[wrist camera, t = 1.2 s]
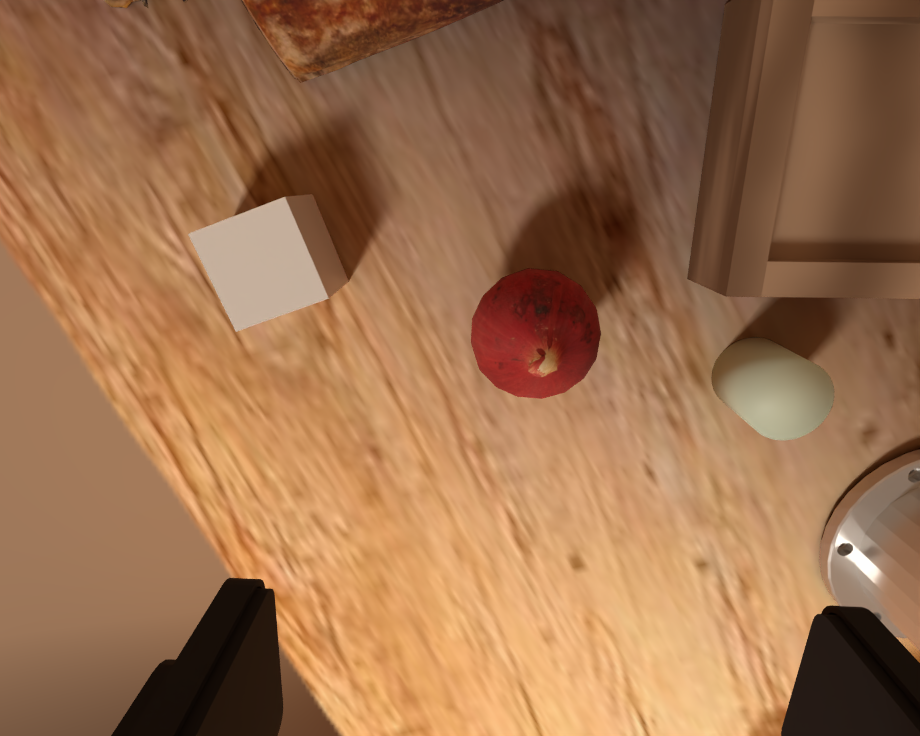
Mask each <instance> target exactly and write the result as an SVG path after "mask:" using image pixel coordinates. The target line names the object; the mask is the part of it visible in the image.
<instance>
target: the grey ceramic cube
mask: <svg viewBox="0 0 920 736" xmlns="http://www.w3.org/2000/svg"><path fill="white" fill-rule="evenodd" d="M188 235H189V237H190V239H191V241H192V243H193V245H194V247H195V249H196V251H197V253H198V255H199V257H200V259H201V261H202V263H203V266H204V268H205V270H206V272H207V274H208V276H209V278H210V280H211V282H212V284H213V286H214V288H215V290H216V292H217V294H218V296H219V298H220V300H221V302H222V304H223V306H224V308H225V310H226V312H227V314H228V316H229V319H230V321H231V323H232V325H233V327H234V329H235V331H239V330H242V329H245V328H248V327H250V326H253V325H256V324H259V323H262V322H264V321H267V320H270V319H273V318H276V317H278V316H281V315H284V314H287V313H290V312H292V311H295V310H298V309H301V308H303V307H306V306H309V305H312V304H315V303H317V302H320V301H323V300H326V299H329V298H330V297H331V296H332V295H333V294H335V293H336V292H337V291H338V290H339V289H340V288H342V287H343V286H344V285H345V284H346V283H348V282H349V280H348V278H347V276H346V273H345V271H344V268H343V266H342V264H341V261H340V259H339V256H338V254H337V252H336V249H335V247H334V244H333V242H332V240H331V237H330V235H329V232H328V230H327V228H326V225H325V223H324V220H323V218H322V216H321V213H320V211H319V208H318V206H317V204H316V201H315V199H314V196H313V194H309V195H298V196H287V197H283V198H280V199H277V200H275V201H272V202H270V203H267V204H264V205H262V206H259V207H257V208H254V209H251V210H249V211H246V212H244V213H241V214H238V215H236V216H233V217H231V218H228V219H225V220H223V221H220V222H218V223H215V224H212V225H210V226H207V227H205V228H202V229H199V230H197V231H194V232H192V233H189V234H188Z"/></svg>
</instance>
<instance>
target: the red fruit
mask: <svg viewBox="0 0 920 736" xmlns="http://www.w3.org/2000/svg"><path fill="white" fill-rule="evenodd" d="M600 336H601V331H600V325H599V320H598V314H597V310H596V307H595V306H594V304H593V303H592V301H591V300H590V298H589V297H588V295H587V294H586V292H585V291H584V289H583V288H582V287H581V286H580V285H579V284H577V283H576V282H574V281H572V280H571V279H569V278H568V277H566V276H564V275H563V274H561V273H560V272H558V271H549V270H540V269H530V268H528V269H525V270H522V271H519V272H516V273H514V274H511V275H508V276H505V277H503V278H501V279H500V280H499V281H498V282H497V283H496V284H495V285H494V286H493V287H492V288H491V289H490V290H489V291H488V292H487V293H485V294H484V295H483V297H482V299H481V301H480V303H479V305H478V307H477V310H476V312H475V314H474V316H473V318H472V333H471V344H472V347H473V351H474V354H475V357H476V360H477V364H478V367H479V369H480V371H481V372H482V373H483V374H484V375H485V376H486V377H487V378H488V379H489V380H490V381H491V382H492V383H493V384H494V385H495V386H496V387H497V388H499V389H502V390H504V391H506V392H508V393H511V394H513V395H515V396H517V397H529V398H541V399H543V398H546V397H550V396H553V395H557V394H560V393H564V392H566V391H567V390H568V389H570V388H571V387H573V386H574V385H575V384H577V383H578V382H580V381H581V380H582V379H584V377H585V376H586V374H587V373H588V371H589V369H590V368H591V366H592V365H593V363H594V362H595V360H596V357H597V352H598V347H599V341H600Z"/></svg>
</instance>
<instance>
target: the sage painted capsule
mask: <svg viewBox="0 0 920 736" xmlns="http://www.w3.org/2000/svg"><path fill="white" fill-rule="evenodd" d="M712 386H713V389H714V391H715V393H716V395H717V396H718V397H719V399H721V400H722V401H723V402H724V403H725V404H726V405H727V406H728V407H730V408H731V409H732V410H733V411H734V412H735V413H736V414H738V415H739V416H740V417H741V418H742V419H743V420H744V421H746V422H747V423H748V424H749V425H750V426H751V427H753V428H754V429H755V430H756V431H757V432H758V433H760V434H761V435H763V436H765V437H767V438H770V439H774V440H791V439H796V438H799V437H802V436H804V435H806V434H808V433H810V432H811V431H813V430H814V429H816V428H817V427H818V426H819V425H820V424H821V423H822V422H823V421H824V420H825V418H826V417H827V415H828V414H829V412H830V410H831V408H832V405H833V401H834V386H833V383H832V380H831V378H830V376H829V375H828V373H827V372H826V371H825V370H824V369H822V368H821V367H820V366H818V365H816V364H814V363H812V362H811V361H809V360H807V359H805V358H803V357H801V356H799V355H797V354H796V353H794V352H792V351H790V350H788V349H786V348H784V347H782V346H780V345H779V344H777V343H775V342H773V341H771V340H769V339H766V338H760V337H751V338H745V339H742V340H739V341H737V342H735V343H733V344H732V345H730V346H729V347H727V348H726V349H725V350H724V351H723V352H722V353H721V354H720V356H719V357H718V359H717V360H716V362H715V364H714V367H713V370H712Z"/></svg>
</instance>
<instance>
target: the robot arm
mask: <svg viewBox="0 0 920 736" xmlns="http://www.w3.org/2000/svg"><path fill="white" fill-rule="evenodd" d="M819 563H820V569H821V575H822V579H823V581H824V583H825V586H826V588H827V590H828V592H829V593H830V595H831V596H832V597H833V599H834V600H835V601H836V602H837V604H838V605H839V606H827V607H826V608H824V609H823V611H822V613H821V614H817V615H816V616H815V617H814V619H813V622H812V625H811V629H810V632H809V636H808V639H807V643H806V646H805V650H804V653H803V657H802V660H801V664H800V667H799V671H798V674H797V678H796V681H795V685H794V688H793V691H792V695H791V698H790V702H789V705H788V709H787V712H786V716H785V719H784V723H783V726H782V732H781V736H920V663H919V662H918V661H917V660H916V659H915V658H914V657H913V656H912V654H911V653H910V652H909V651H908V650H907V649H906V648H905V647H904V646H903V645H902V644H901V643H900V642H899V640H898V639H897V638H896V637H900V638H908V639H909V640H910V641H911V642H912V643H913V644H914V646H915V647H916V648H917V649H918V650H919V651H920V449H919V450H916V451H912V452H909V453H906V454H904V455H902V456H900V457H897V458H895V459H893V460H891V461H889V462H887V463H885V464H883V465H882V466H880V467H879V468H877V469H876V470H874V471H873V472H871V473H870V474H868V475H867V476H866V477H864V478H863V479H862V480H861V481H860V482H859V483H858V484H857V485H856V486H855V487H853V488H852V489H851V490H850V491H849V492H848V493H847V495H846V496H845V497H844V498H843V500H842V501H841V502H840V503H839V505H838V506H837V507H836V509H835V510H834V512H833V514H832V516H831V518H830V520H829V522H828V523H827V525H826V528H825V531H824V534H823V538H822V541H821V545H820V558H819ZM282 714H283V697H282V685H281V673H280V659H279V646H278V633H277V620H276V608H275V595H274V591H273V589H265V585H264V582H263V580H261V579H241V578H229V579H227V580H226V581H225V582H224V584H223V585H222V587H221V588H220V590H219V591H218V593H217V595H216V596H215V598H214V600H213V601H212V603H211V604H210V606H209V608H208V609H207V611H206V613H205V614H204V616H203V617H202V619H201V621H200V622H199V624H198V625H197V627H196V629H195V630H194V632H193V634H192V635H191V637H190V638H189V640H188V642H187V643H186V645H185V646H184V648H183V650H182V651H181V653H180V654H179V656H178V658H177V659H176V660H165V661H163V662H162V663H160V664H159V665H158V666H157V668H156V669H155V670H154V671H153V673H152V674H151V676H150V677H149V679H148V680H147V682H146V683H145V685H144V686H143V688H142V690H141V691H140V693H139V694H138V696H137V697H136V699H135V700H134V702H133V703H132V705H131V706H130V708H129V710H128V711H127V713H126V714H125V716H124V717H123V719H122V720H121V722H120V723H119V725H118V726H117V728H116V729H115V731H114V732H113V734H112V735H111V736H277V735H278V732H279V729H280V725H281V721H282Z"/></svg>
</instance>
